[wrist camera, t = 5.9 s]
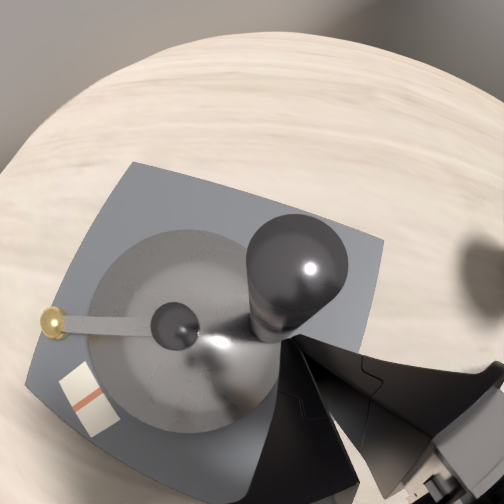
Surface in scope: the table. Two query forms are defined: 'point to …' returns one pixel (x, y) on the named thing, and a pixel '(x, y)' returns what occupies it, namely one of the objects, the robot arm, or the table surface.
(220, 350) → the chrome dome lever
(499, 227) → the table surface
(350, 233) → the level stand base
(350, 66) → the table surface
